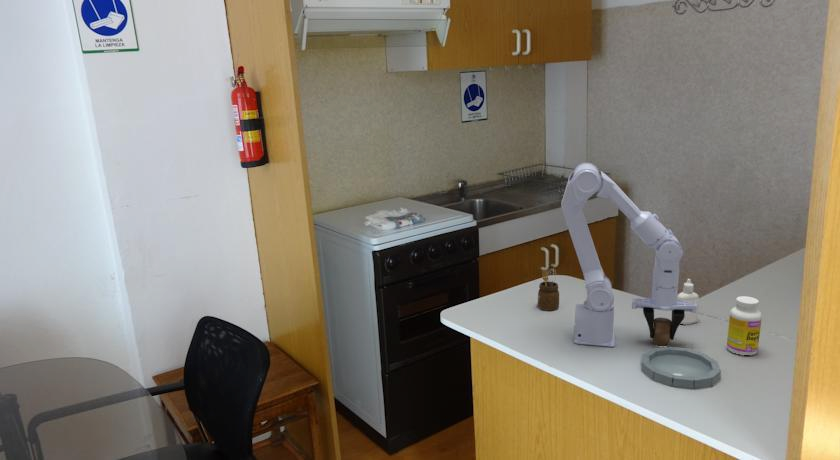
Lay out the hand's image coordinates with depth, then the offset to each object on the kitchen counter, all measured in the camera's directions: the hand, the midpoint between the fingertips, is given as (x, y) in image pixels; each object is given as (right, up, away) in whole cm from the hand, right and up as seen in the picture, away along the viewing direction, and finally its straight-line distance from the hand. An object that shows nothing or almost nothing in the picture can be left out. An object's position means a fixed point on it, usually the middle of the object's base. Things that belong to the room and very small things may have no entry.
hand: (661, 337), depth 156 cm
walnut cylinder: (0, -2, 0) cm, 2 cm away
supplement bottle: (+17, -3, -5) cm, 18 cm away
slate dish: (-1, -5, -13) cm, 14 cm away
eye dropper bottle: (+11, +2, +12) cm, 17 cm away
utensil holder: (-23, +4, +25) cm, 34 cm away
